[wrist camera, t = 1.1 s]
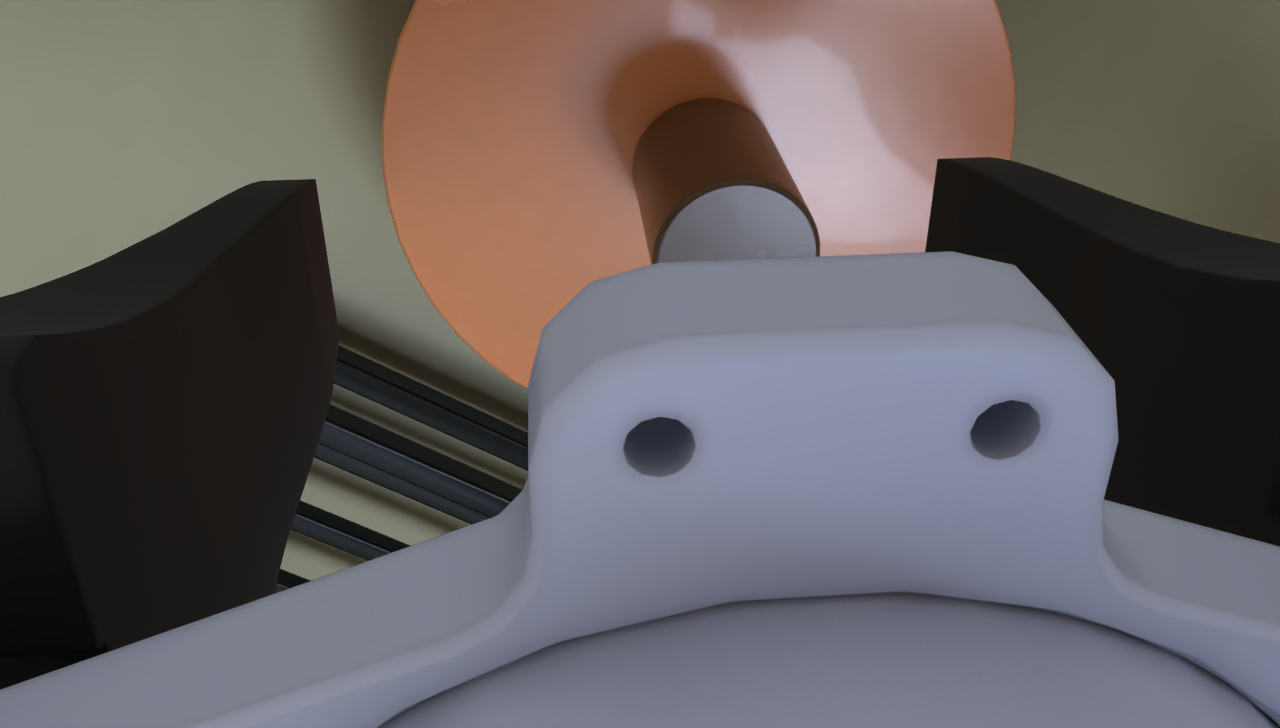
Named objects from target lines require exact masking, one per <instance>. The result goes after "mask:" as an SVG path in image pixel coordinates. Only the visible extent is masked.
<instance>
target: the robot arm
mask: <svg viewBox="0 0 1280 728" xmlns="http://www.w3.org/2000/svg"><path fill="white" fill-rule="evenodd" d="M339 338H340V337H339V330H338V324H337V317H336V310H335V304H334V297H333V291H332V284H331V278H330V271H329V265H328V258H327V251H326V245H325V238H324V232H323V225H322V219H321V212H320V206H319V199H318V193H317V186H316V179H307V180H276V181H259V182H255V183H252V184H249V185H246V186H244V187H242V188H240V189H238V190H236V191H234V192H232V193H230V194H228V195H226V196H224V197H222V198H220V199H218V200H217V201H215V202H213V203H211V204H209V205H208V206H206V207H204V208H202V209H200V210H199V211H197V212H195V213H193V214H191V215H190V216H188V217H186V218H184V219H182V220H181V221H179V222H177V223H175V224H173V225H172V226H170V227H168V228H166V229H164V230H162V231H160V232H158V233H156V234H154V235H152V236H150V237H148V238H146V239H144V240H142V241H140V242H138V243H136V244H134V245H132V246H130V247H128V248H126V249H124V250H122V251H120V252H118V253H116V254H114V255H112V256H110V257H108V258H106V259H104V260H102V261H99V262H97V263H95V264H93V265H90V266H88V267H86V268H83V269H81V270H78V271H76V272H73V273H71V274H68V275H66V276H63V277H60V278H58V279H55V280H52V281H49V282H47V283H44V284H41V285H38V286H36V287H33V288H30V289H27V290H24V291H21V292H18V293H15V294H11V295H7V296H4V297H0V728H1280V244H1279V243H1275V242H1270V241H1266V240H1261V239H1257V238H1253V237H1248V236H1244V235H1240V234H1235V233H1231V232H1227V231H1222V230H1219V229H1215V228H1211V227H1207V226H1204V225H1200V224H1197V223H1193V222H1190V221H1187V220H1183V219H1180V218H1177V217H1174V216H1171V215H1167V214H1164V213H1161V212H1158V211H1155V210H1151V209H1148V208H1145V207H1143V206H1140V205H1137V204H1134V203H1131V202H1128V201H1125V200H1122V199H1119V198H1117V197H1114V196H1111V195H1108V194H1106V193H1103V192H1100V191H1097V190H1095V189H1092V188H1089V187H1086V186H1084V185H1081V184H1078V183H1076V182H1073V181H1070V180H1067V179H1065V178H1062V177H1059V176H1056V175H1054V174H1051V173H1048V172H1045V171H1042V170H1039V169H1037V168H1034V167H1030V166H1027V165H1024V164H1021V163H1017V162H1013V161H1010V160H1005V159H1000V158H992V157H977V158H947V159H937V167H936V174H935V182H934V189H933V197H932V204H931V212H930V219H929V226H928V234H927V241H926V249H925V252H923V253H897V254H871V255H845V256H819V257H793V258H767V259H741V260H715V261H689V262H663V263H656V264H652V265H649V266H645V267H641V268H638V269H634V270H631V271H627V272H624V273H620V274H617V275H613V276H609V277H606V278H602V279H599V280H595V281H592V282H590V283H589V284H588V285H587V286H586V287H585V288H584V289H583V290H582V291H580V292H579V293H578V294H577V295H576V296H575V297H574V298H573V299H572V300H571V301H570V302H569V303H568V304H567V305H566V306H565V307H564V308H563V309H562V310H561V311H560V312H559V313H557V314H556V315H555V316H554V317H553V318H552V319H551V320H550V321H549V322H548V323H547V324H546V325H545V326H544V327H543V329H542V332H541V336H540V340H539V344H538V348H537V352H536V356H535V360H534V364H533V368H532V372H531V376H530V380H529V384H528V473H529V475H528V478H527V480H526V482H525V485H524V487H523V490H522V491H521V493H520V494H519V495H518V496H517V497H516V498H515V499H514V500H513V501H512V502H511V503H510V504H509V505H508V506H507V507H506V508H505V509H504V510H503V511H502V512H501V513H500V514H498V515H497V516H495V517H492V518H489V519H487V520H484V521H481V522H478V523H475V524H472V525H469V526H467V527H464V528H461V529H458V530H455V531H452V532H449V533H447V534H444V535H441V536H438V537H435V538H432V539H429V540H427V541H424V542H421V543H418V544H415V545H412V546H409V547H407V548H404V549H401V550H398V551H395V552H392V553H389V554H387V555H384V556H381V557H378V558H375V559H372V560H369V561H367V562H364V563H361V564H358V565H355V566H352V567H350V568H347V569H344V570H341V571H338V572H335V573H332V574H330V575H327V576H324V577H321V578H318V579H315V580H312V581H310V582H307V583H304V584H301V585H298V586H295V587H292V588H290V589H287V590H284V591H281V592H278V593H275V592H276V586H277V580H278V575H279V570H280V566H281V562H282V558H283V554H284V550H285V546H286V543H287V539H288V536H289V533H290V529H291V526H292V523H293V520H294V517H295V514H296V511H297V508H298V505H299V501H300V498H301V495H302V492H303V489H304V486H305V483H306V480H307V477H308V473H309V470H310V467H311V464H312V461H313V458H314V455H315V452H316V448H317V445H318V442H319V439H320V436H321V432H322V429H323V426H324V423H325V419H326V416H327V413H328V409H329V406H330V403H331V397H332V390H333V384H334V377H335V370H336V362H337V354H338V346H339Z"/></svg>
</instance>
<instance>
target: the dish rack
mask: <svg viewBox="0 0 1280 728" xmlns="http://www.w3.org/2000/svg"><path fill="white" fill-rule="evenodd" d="M334 384H337V385H339V386H341V387H343V388H345V389H348V390H350V391H352V392H354V393H356V394H359V395H361V396H363V397H365V398H368V399H370V400H372V401H374V402H376V403H379V404H381V405H383V406H385V407H388V408H390V409H392V410H394V411H396V412H399V413H401V414H403V415H405V416H407V417H410V418H412V419H414V420H416V421H419V422H421V423H423V424H425V425H427V426H430V427H432V428H434V429H436V430H439V431H441V432H443V433H445V434H447V435H450V436H452V437H454V438H456V439H459V440H461V441H463V442H465V443H467V444H470V445H472V446H474V447H476V448H478V449H481V450H483V451H485V452H487V453H490V454H492V455H494V456H496V457H498V458H501V459H503V460H505V461H507V462H510V463H512V464H514V465H516V466H518V467H521V468H523V469H525V470H527V471H528V433H527V432H525V431H523V430H521V429H519V428H516V427H514V426H512V425H510V424H508V423H506V422H503V421H501V420H499V419H497V418H495V417H493V416H491V415H488V414H486V413H484V412H482V411H480V410H478V409H475V408H473V407H471V406H469V405H467V404H465V403H462V402H460V401H458V400H456V399H454V398H452V397H450V396H447V395H445V394H443V393H441V392H439V391H437V390H434V389H432V388H430V387H428V386H426V385H424V384H421V383H419V382H417V381H415V380H413V379H411V378H409V377H406V376H404V375H402V374H400V373H398V372H396V371H393V370H391V369H389V368H387V367H385V366H383V365H380V364H378V363H376V362H374V361H372V360H370V359H368V358H365V357H363V356H361V355H359V354H357V353H355V352H352V351H350V350H348V349H346V348H344V347H342V346H338V354H337V362H336V370H335V377H334ZM314 458H317V459H319V460H322V461H324V462H326V463H329V464H331V465H333V466H336V467H338V468H340V469H343V470H345V471H347V472H350V473H352V474H354V475H357V476H359V477H362V478H364V479H366V480H369V481H371V482H373V483H376V484H378V485H380V486H383V487H385V488H387V489H390V490H392V491H394V492H397V493H399V494H401V495H404V496H406V497H409V498H411V499H413V500H416V501H418V502H420V503H423V504H425V505H427V506H430V507H432V508H434V509H437V510H439V511H441V512H444V513H446V514H448V515H451V516H453V517H456V518H458V519H460V520H463V521H465V522H467V523H470V524H475V523H478V522H481V521H484V520H487V519H489V518H492V517H495V516H497V515H498V514H500V513H501V512H502V511H503V510H504V509H505V508H506V507H507V506H508V505H509V504H510V503H511V502H512V501H513V500H514V499H515V498H516V497H517V496H518V495H519V494H520V493H521V491H522V489H520V488H517V487H515V486H513V485H511V484H508V483H506V482H504V481H502V480H499V479H497V478H495V477H493V476H490V475H488V474H486V473H484V472H481V471H479V470H477V469H475V468H472V467H470V466H468V465H466V464H463V463H461V462H459V461H457V460H454V459H452V458H450V457H448V456H445V455H443V454H441V453H439V452H436V451H434V450H432V449H430V448H427V447H425V446H423V445H421V444H418V443H416V442H414V441H412V440H409V439H407V438H405V437H402V436H400V435H398V434H396V433H393V432H391V431H389V430H387V429H384V428H382V427H380V426H378V425H375V424H373V423H371V422H369V421H366V420H364V419H362V418H360V417H357V416H355V415H353V414H351V413H348V412H346V411H344V410H342V409H339V408H337V407H335V406H333V405H330V406H329V409H328V413H327V416H326V419H325V423H324V426H323V429H322V432H321V436H320V439H319V442H318V445H317V448H316V452H315V455H314ZM291 530H293V531H296V532H298V533H301V534H303V535H306V536H308V537H311V538H313V539H316V540H318V541H321V542H323V543H326V544H328V545H331V546H333V547H336V548H338V549H341V550H343V551H346V552H348V553H351V554H353V555H356V556H358V557H361V558H363V559H366V560H368V561H369V560H372V559H375V558H378V557H381V556H384V555H387V554H389V553H392V552H395V551H398V550H401V549H404V548H407V547H409V546H410V545H407V544H405V543H403V542H400V541H398V540H395V539H393V538H390V537H388V536H385V535H383V534H381V533H378V532H376V531H373V530H371V529H368V528H366V527H364V526H361V525H359V524H356V523H354V522H351V521H349V520H347V519H344V518H342V517H339V516H337V515H334V514H332V513H329V512H327V511H325V510H322V509H320V508H317V507H315V506H312V505H310V504H308V503H305V502H303V501H299V505H298V508H297V511H296V514H295V517H294V520H293V523H292V526H291ZM307 582H310V580H307V579H305V578H302V577H300V576H297V575H295V574H292V573H289V572H287V571H284V570H282V569H280V570H279V575H278V580H277V586H276V592H275V593H278V592H281V591H284V590H287V589H290V588H292V587H295V586H298V585H301V584H304V583H307Z"/></svg>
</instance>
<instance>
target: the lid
mask: <svg viewBox="0 0 1280 728" xmlns="http://www.w3.org/2000/svg"><path fill="white" fill-rule="evenodd" d="M1014 132H1015V81H1014V73H1013V66H1012V58H1011V50H1010V46H1009V42H1008V39H1007V35H1006V31H1005V28H1004V24H1003V20H1002V17H1001V13H1000V10H999V7H998V5H997V3H996V1H995V0H415V2H414V4H413V6H412V9H411V11H410V13H409V15H408V18H407V20H406V22H405V24H404V27H403V29H402V31H401V34H400V37H399V41H398V44H397V48H396V51H395V55H394V58H393V62H392V65H391V69H390V72H389V76H388V79H387V86H386V94H385V101H384V108H383V115H382V167H383V174H384V181H385V188H386V195H387V201H388V205H389V208H390V212H391V215H392V219H393V222H394V226H395V229H396V233H397V236H398V239H399V242H400V244H401V246H402V248H403V251H404V253H405V255H406V257H407V260H408V262H409V264H410V266H411V269H412V271H413V273H414V275H415V276H416V278H417V280H418V281H419V283H420V285H421V286H422V288H423V289H424V291H425V293H426V294H427V296H428V298H429V299H430V301H431V302H432V304H433V306H434V307H435V308H436V309H437V310H438V312H439V313H440V314H441V315H442V317H443V318H444V319H445V320H446V321H447V323H448V324H449V325H450V326H451V328H452V329H453V330H454V331H455V332H456V334H457V335H458V336H459V337H460V338H461V339H463V340H464V341H465V342H466V343H467V344H468V345H469V346H470V347H471V348H472V349H473V350H474V351H475V352H476V353H477V354H478V355H480V356H481V357H482V358H483V359H484V360H485V361H486V362H488V363H489V364H491V365H492V366H493V367H495V368H496V369H497V370H499V371H500V372H502V373H503V374H504V375H506V376H507V377H508V378H510V379H511V380H513V381H514V382H516V383H518V384H519V385H521V386H523V387H525V388H527V389H528V384H529V380H530V376H531V372H532V368H533V364H534V360H535V356H536V352H537V348H538V344H539V340H540V336H541V332H542V329H543V327H544V326H545V325H546V324H547V323H548V322H549V321H550V320H551V319H552V318H553V317H554V316H555V315H556V314H557V313H559V312H560V311H561V310H562V309H563V308H564V307H565V306H566V305H567V304H568V303H569V302H570V301H571V300H572V299H573V298H574V297H575V296H576V295H577V294H578V293H579V292H580V291H582V290H583V289H584V288H585V287H586V286H587V285H588V284H589V283H590V282H592V281H595V280H599V279H602V278H606V277H609V276H613V275H617V274H620V273H624V272H627V271H631V270H634V269H638V268H641V267H645V266H649V265H652V264H656V263H663V262H689V261H715V260H741V259H767V258H793V257H819V256H845V255H871V254H897V253H923V252H925V249H926V241H927V234H928V226H929V219H930V212H931V204H932V197H933V189H934V182H935V174H936V167H937V159H947V158H977V157H992V158H1000V159H1005V160H1011V153H1012V146H1013V139H1014Z"/></svg>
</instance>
